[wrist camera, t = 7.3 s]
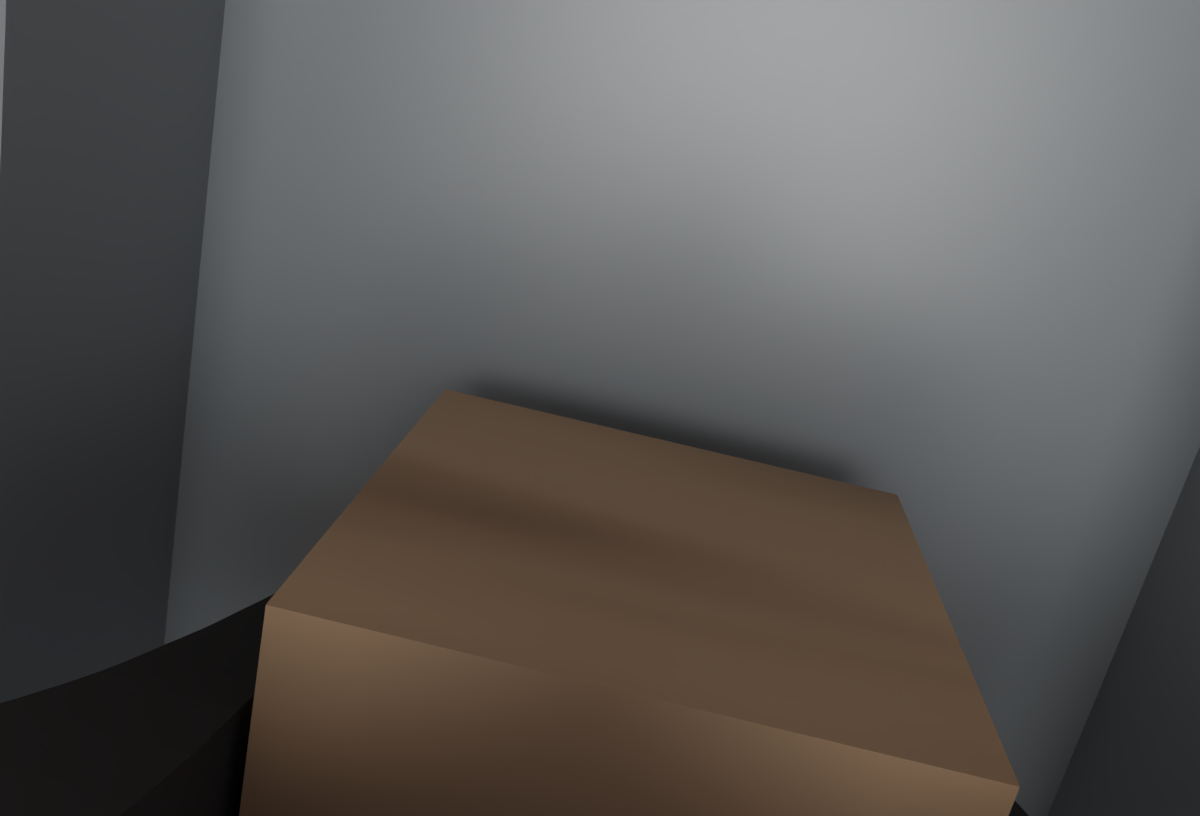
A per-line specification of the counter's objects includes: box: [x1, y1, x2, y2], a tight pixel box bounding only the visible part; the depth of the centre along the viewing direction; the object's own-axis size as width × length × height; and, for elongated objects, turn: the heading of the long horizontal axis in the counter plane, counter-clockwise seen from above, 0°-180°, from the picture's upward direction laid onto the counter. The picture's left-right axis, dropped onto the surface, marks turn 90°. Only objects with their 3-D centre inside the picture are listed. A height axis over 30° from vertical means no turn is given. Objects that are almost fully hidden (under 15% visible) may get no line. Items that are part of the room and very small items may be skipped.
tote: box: [0, 0, 1200, 816], centre depth 11 cm, size 18×14×5 cm
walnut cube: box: [239, 389, 1020, 816], centre depth 10 cm, size 5×5×5 cm
